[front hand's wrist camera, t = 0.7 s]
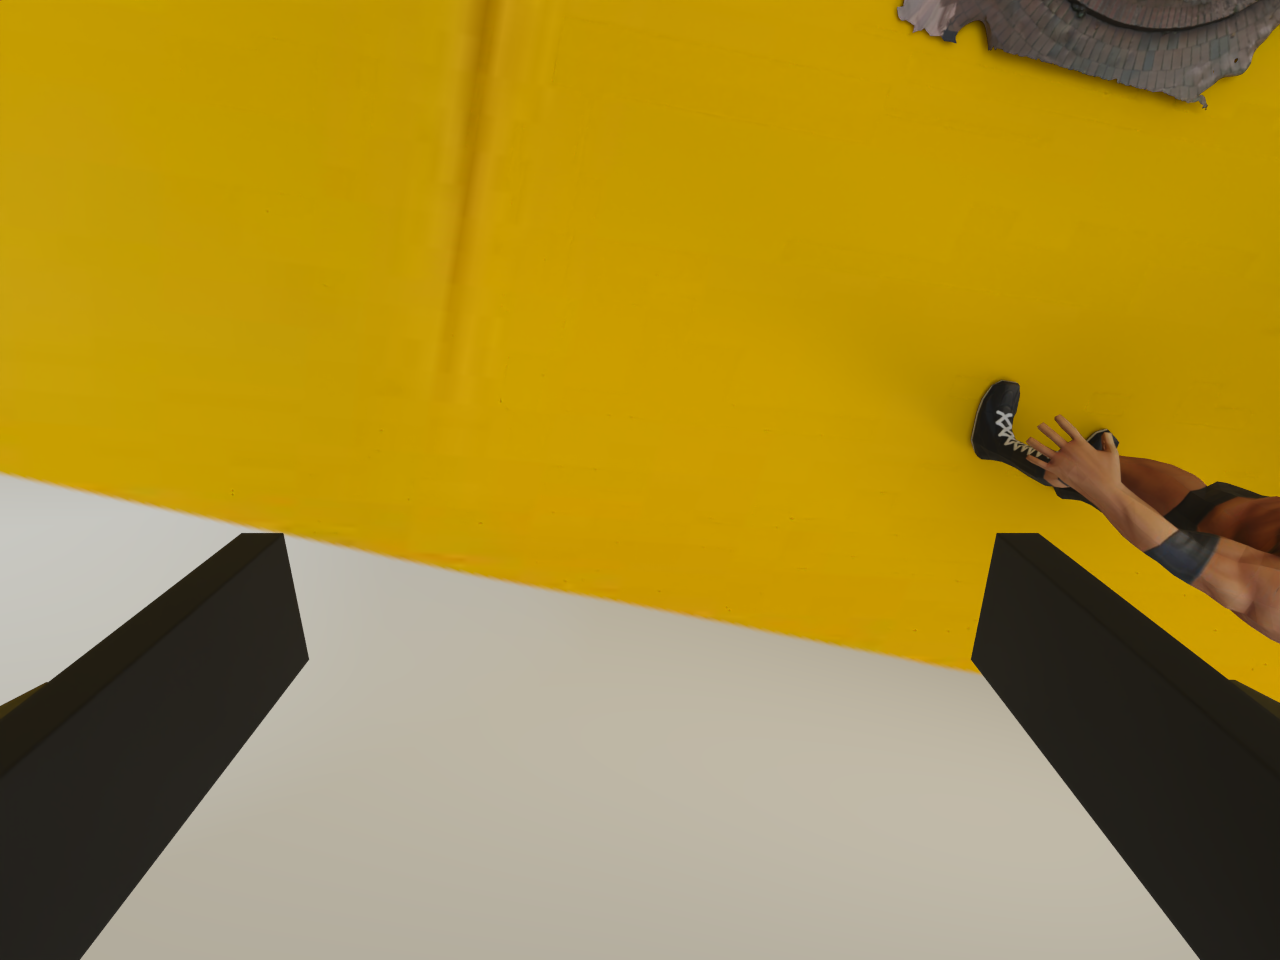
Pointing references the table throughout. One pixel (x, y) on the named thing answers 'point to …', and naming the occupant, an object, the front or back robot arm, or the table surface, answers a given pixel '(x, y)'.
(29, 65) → the table surface
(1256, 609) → the figurine
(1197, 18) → the sculpture
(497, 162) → the table surface
